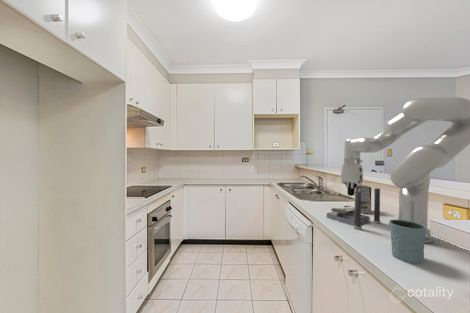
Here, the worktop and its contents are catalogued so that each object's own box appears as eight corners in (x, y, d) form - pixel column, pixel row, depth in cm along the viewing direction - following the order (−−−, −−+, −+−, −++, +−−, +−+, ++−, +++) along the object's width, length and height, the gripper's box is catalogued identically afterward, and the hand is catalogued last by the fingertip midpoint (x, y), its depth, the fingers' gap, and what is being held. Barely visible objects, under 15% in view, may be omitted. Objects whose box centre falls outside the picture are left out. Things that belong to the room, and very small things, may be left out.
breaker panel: (370, 221, 114) (370, 210, 114) (353, 226, 106) (353, 214, 106) (342, 213, 128) (342, 204, 127) (326, 217, 120) (326, 207, 120)
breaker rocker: (356, 209, 115) (355, 206, 115) (351, 210, 113) (350, 207, 113) (341, 210, 122) (340, 207, 123) (336, 211, 120) (336, 208, 121)
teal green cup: (414, 267, 68) (415, 230, 68) (382, 253, 77) (382, 221, 77) (432, 260, 72) (432, 226, 72) (399, 248, 82) (399, 217, 81)
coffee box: (371, 213, 128) (372, 187, 127) (360, 213, 128) (360, 187, 128) (364, 209, 137) (364, 185, 136) (354, 209, 138) (354, 184, 137)
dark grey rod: (363, 229, 102) (363, 191, 102) (359, 230, 101) (359, 192, 100) (356, 227, 105) (356, 190, 105) (352, 228, 104) (352, 191, 103)
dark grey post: (381, 223, 111) (382, 188, 110) (378, 224, 109) (378, 189, 109) (375, 221, 113) (375, 188, 113) (372, 222, 112) (372, 188, 112)
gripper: (370, 162, 110) (369, 197, 111) (343, 160, 123) (342, 192, 124) (361, 162, 106) (360, 199, 107) (335, 161, 119) (334, 193, 120)
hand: (350, 195), depth 115 cm, fingers closed
